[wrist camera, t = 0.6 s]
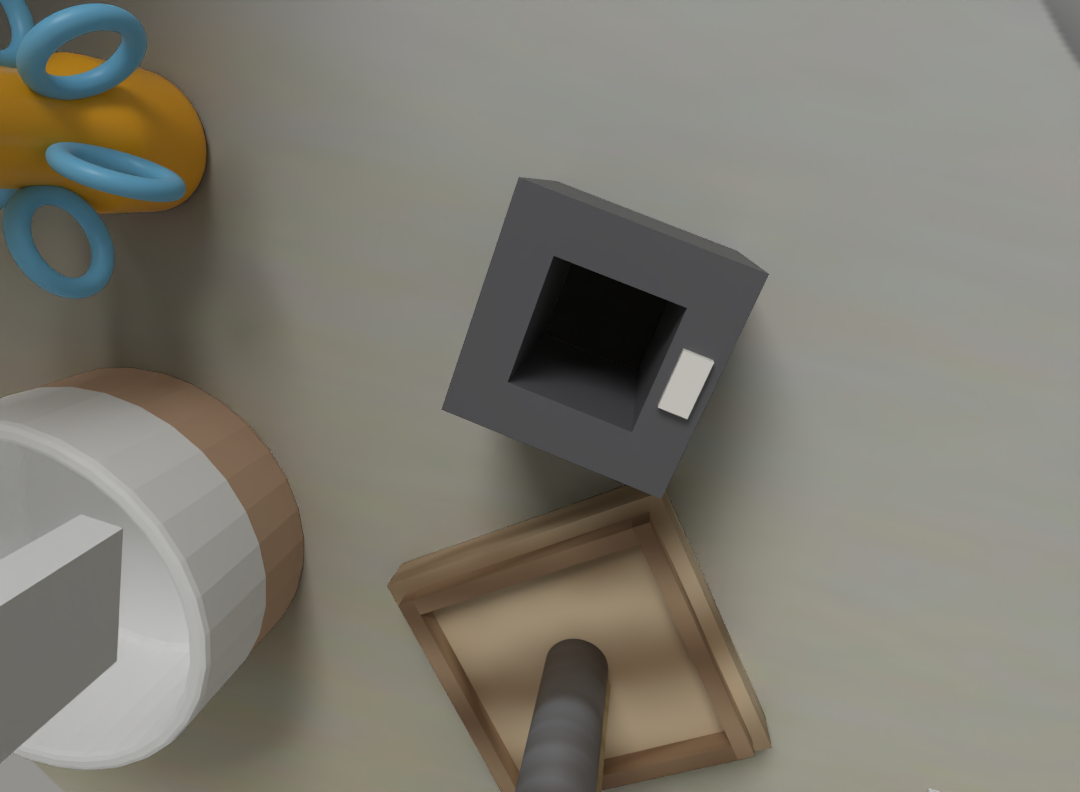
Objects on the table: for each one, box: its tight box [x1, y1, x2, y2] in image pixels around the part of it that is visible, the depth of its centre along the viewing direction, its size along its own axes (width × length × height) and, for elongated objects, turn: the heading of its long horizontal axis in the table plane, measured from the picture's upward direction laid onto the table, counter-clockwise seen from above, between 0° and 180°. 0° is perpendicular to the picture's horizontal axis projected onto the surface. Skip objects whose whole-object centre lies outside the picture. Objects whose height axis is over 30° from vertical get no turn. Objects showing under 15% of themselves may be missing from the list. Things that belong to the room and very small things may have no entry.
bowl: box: [0, 368, 304, 770], centre depth 32 cm, size 17×17×8 cm
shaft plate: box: [387, 485, 772, 792], centre depth 29 cm, size 14×14×10 cm
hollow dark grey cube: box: [442, 177, 769, 499], centre depth 25 cm, size 8×8×8 cm
